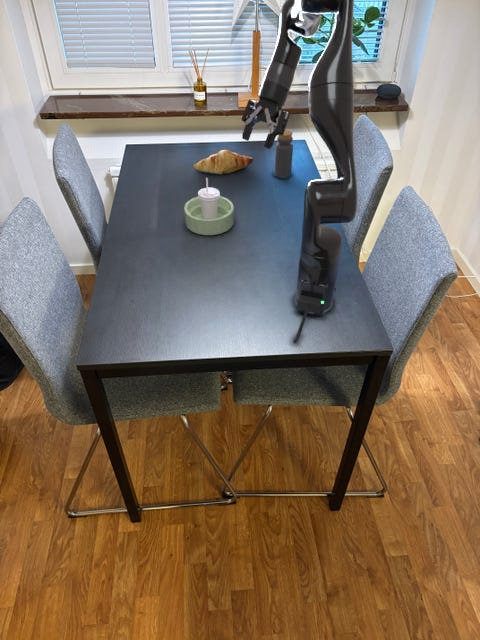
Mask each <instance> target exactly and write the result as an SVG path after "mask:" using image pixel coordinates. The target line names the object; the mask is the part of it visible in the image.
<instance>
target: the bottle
mask: <svg viewBox="0 0 480 640" xmlns="http://www.w3.org/2000/svg"><path fill="white" fill-rule="evenodd" d="M276 139H277V140H276V141H277V142H276V144H275V152H274V169H273V171H274V172H273V175H274V176H275V177H276V178H278V179H288V178H291V175H292V167H293V155H294V154H293V153H294V145H293V143H292V142H293V139H294V138H293V131H292V130H291V129H285V132H284V134H283V135H277V136H276Z"/></svg>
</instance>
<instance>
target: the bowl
mask: <svg viewBox="0 0 480 640" xmlns="http://www.w3.org/2000/svg"><path fill="white" fill-rule="evenodd" d="M183 207H184V208H183V213H184V214H183V215H184V224H185V226H186V228H187V229H188V230H189V231H191V232H193V233H194V234H197V235H203V236H216V235H221V234H223V233H225V232H228V231H229V230H230V229H231V228H232V227H233V225H234V223H235V222H234V221H235V217H234V216H235V214H234V213H235V209H234V208H235V207H234V204H233V202H232V201H231V200H230V199H228V198H227V197H225V196H221V195H220V197H219V200H218V209H217V218H216V219H203V214H202V209H201V203H200V198H199V197H198V196H195V197H192V198H191V199H189V200H187V201H186V203H185V204H184V206H183Z"/></svg>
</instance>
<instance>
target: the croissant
mask: <svg viewBox="0 0 480 640" xmlns="http://www.w3.org/2000/svg"><path fill="white" fill-rule="evenodd" d="M253 162H254V158H253V157H252V156H247V155H243V154H242V155H240V154H239V153H238V152H232V151H231V150H229V149H221V150H219V151H218V152H217V153H214V154H211V155H209V157H207V158H203V159H201V160H199V162H197V163H194V164H193V169H194V170H196V171H198V172H202V173H207V174H215V175H223V174H231V173H234V172H236V171H240V170H243V169H245V168H247V167H248V166H249V165H251V164H252V163H253Z"/></svg>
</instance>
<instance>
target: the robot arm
mask: <svg viewBox="0 0 480 640" xmlns="http://www.w3.org/2000/svg"><path fill="white" fill-rule="evenodd" d="M354 3H355V0H285V1H284V3H283V4H282V6H281V10H280V13H279V14H280V16H279V28H278V35H277V40H276V45H275V49H274V51H273V54H272V57H271V60H270V62H269V63H270V64H268V67H267V69H266V71H265V75H264V77H263V80H262V83H261V86H260V89H259V92H258V96H257V97H258V100H257V101H255V100H252V99H248V100H247V103H246V105H245V108H244V111H243V114H242V116H241V121H243V123H244V124H245V125H244V129H243V131H242V135H241V136H242V139H243V140H245V141H249V140H250V138H251V135H252V133H253V129H254V127H255V126H256V124H258V123H261V122H262V123H266V124H267V126H268V131H269V132H268V133H267V135H266V139H265V141H264V144H263V148H265V149H268V150H271V149H272V147H274V143H275V140H276V139H277V137H278V136H279V135H283V134H284V132H285V130H286V128H287V125H288V122H289V119H290V115H291V113H290V112H288V111H287V110H285V109H282V108H283V107H284V106H285V105H286V102H287V100H288V99H287V98H288V96H289V93H290V91H291V87H292V85H293V81H294V79H295V75H296V70H297V68H298V65H299V63H300V60H301V57H302V55H303V48H302V47H301V45H299V44H298V43H297V42H296V41H294V40H293V39H292V38H291V37H290V36H291V35H290V32H292V33H295V34H297V35H299V36H302V37H304V38H311V37H313V36H314V35H316V33H317V31H318V30H319V28H320V25H321V21H322V14H335V15H334V16H335V23H334V27H333V30H332V33H331V36H330V38H329V40H328V43H327V45H326V47H325V49H324V51H323V52H322V53H321V56H320V57H319V59H318V61H317V63H316V64H315V66H314V68H313V70H312V71H311V74H310V76H309V80H308V84H307V89H308V90H307V91H308V92H307V93H308V94H307V95H308V96H307V97H308V115H309V118H310V121H311V123H312V126H313V127H314V129H315V130H316V132H317V133H318V135H319V137H320V138H321V140H322V141H323V143H324V144H325V146H326V147H327V149H328V150H329V152H330V154H331V157H332V158H333V162H334V165H335V168H336V169H335V170H336V174H337V178H327V179H326V178H325V179H312V180H309V182H308V183H307V184H306V187H305V189H304V197H303V217H302V231H301V243H300V253H299V261H298V270H297V280H296V281H297V282H296V289H295V296H294V304H295V307H296V310H297V312H298V313H302V314H303V315H302V319H301V321H300V324H299V327H298V330H297V332H296V335H295V337H294V338H293V343H295V344H296V343H297V342H298V340H299V338H300V336H301V333H302V330H303V328H304V325H305V322H306V320H307V317H308V315H310V316H316V317H321V318H322V317H323V316H324V314H327V313H328V312H330V311H331V310H332V308H333V303H334V296H335V293H336V292H337V288H336V284H337V278H338V273H339V266H340V262H341V256H342V250H343V243H344V239H343V235H342V233H341V232H339V230H338V229H336V228H334V227H332V226H329V224H331V225H332V224H347V223H351V222H353V221H354V220H355V218H356V216H357V212H358V184H357V171H356V160H355V144H354V143H355V142H354V141H355V139H354V138H355V137H354V128H355V127H354V125H355V122H354V120H355V117H354V116H355V115H354V114H355V113H354V111H355V88H354V87H355V86H354V62H353V61H354V60H353V59H354V57H353V31H354V30H353V28H354V26H353V25H354V7H355V5H354ZM327 224H328V225H327Z"/></svg>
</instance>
